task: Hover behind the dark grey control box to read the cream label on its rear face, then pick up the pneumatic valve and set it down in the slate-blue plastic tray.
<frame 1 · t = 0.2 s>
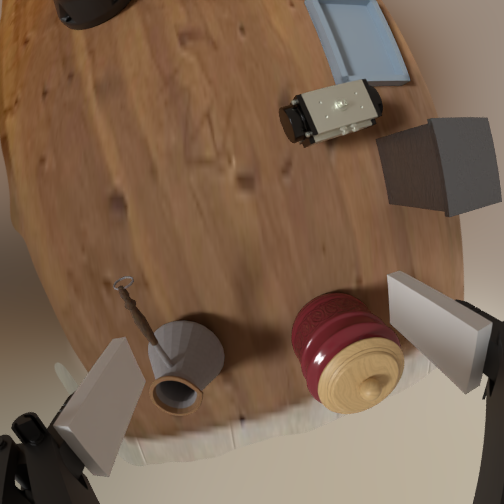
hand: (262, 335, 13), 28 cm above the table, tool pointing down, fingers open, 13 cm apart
canister: (329, 328, 44), on the table
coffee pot: (178, 318, 42), on the table
pneumatic valve: (315, 127, 38), on the table
tray: (354, 40, 35), on the table
control box: (408, 167, 40), on the table
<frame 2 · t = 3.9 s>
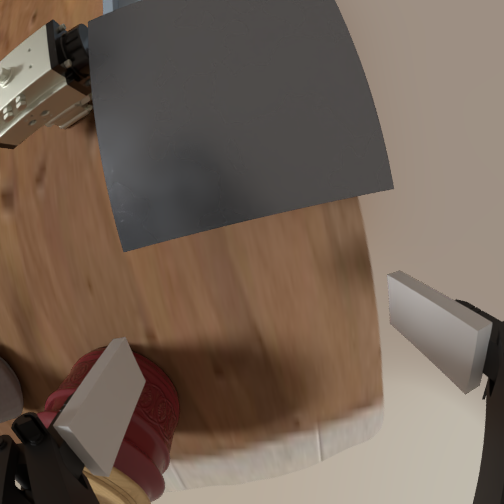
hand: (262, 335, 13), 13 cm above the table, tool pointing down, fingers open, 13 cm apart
canister: (127, 390, 28), on the table
pneumatic valve: (76, 111, 22), on the table
control box: (232, 142, 24), on the table
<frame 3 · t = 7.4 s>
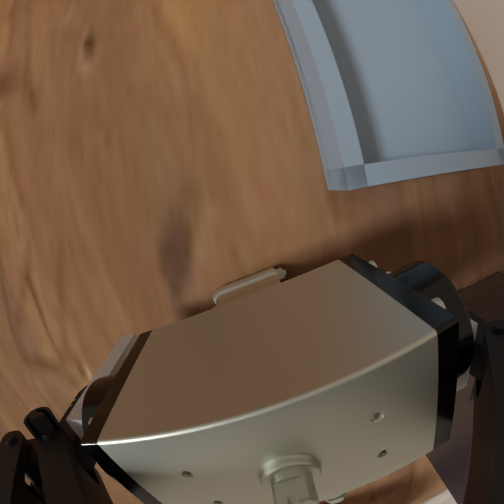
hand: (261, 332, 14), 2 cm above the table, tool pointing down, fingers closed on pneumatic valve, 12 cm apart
pneumatic valve: (258, 308, 16), on the table, touching gripper
tray: (381, 43, 13), on the table
control box: (454, 348, 18), on the table
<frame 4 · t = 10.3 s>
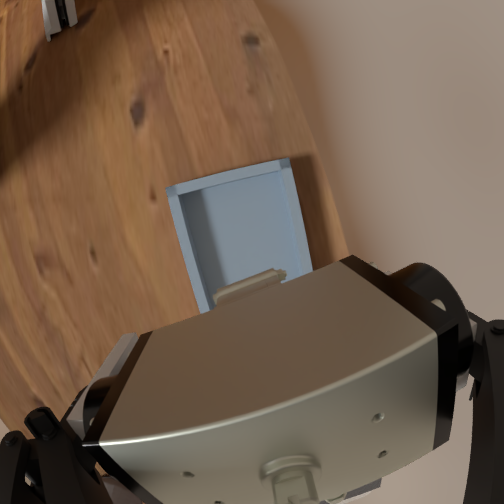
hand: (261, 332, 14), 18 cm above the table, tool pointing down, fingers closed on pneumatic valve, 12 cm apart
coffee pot: (106, 472, 39), on the table
pneumatic valve: (258, 309, 16), point 15 cm above the table, touching gripper
tray: (246, 252, 31), on the table
when the fingers open (5 cm above the table, at t = 13.3 s): pneumatic valve drops 2 cm, resting on tray.
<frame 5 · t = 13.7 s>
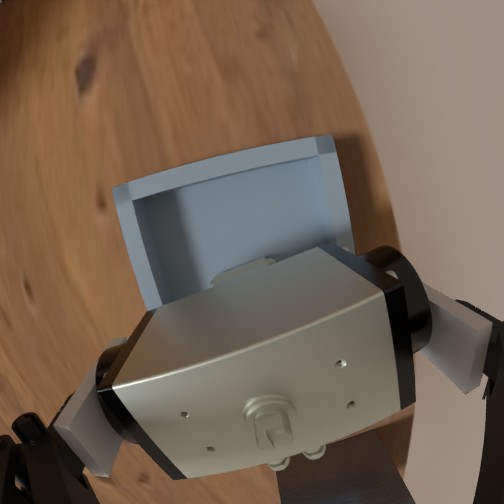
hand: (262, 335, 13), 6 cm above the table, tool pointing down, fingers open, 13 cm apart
pneumatic valve: (251, 295, 18), point 1 cm above the table, touching tray
tray: (254, 294, 19), on the table
control box: (328, 470, 23), on the table
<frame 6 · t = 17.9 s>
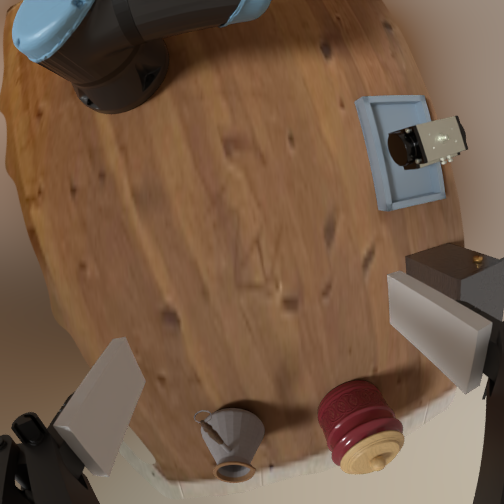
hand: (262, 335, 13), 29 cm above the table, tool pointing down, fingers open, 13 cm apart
canister: (347, 403, 49), on the table
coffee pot: (225, 403, 47), on the table
pneumatic valve: (400, 149, 39), point 1 cm above the table, touching tray
tray: (399, 150, 40), on the table
control box: (429, 276, 45), on the table
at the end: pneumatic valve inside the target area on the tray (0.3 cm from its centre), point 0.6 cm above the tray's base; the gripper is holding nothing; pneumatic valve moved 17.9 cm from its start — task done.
